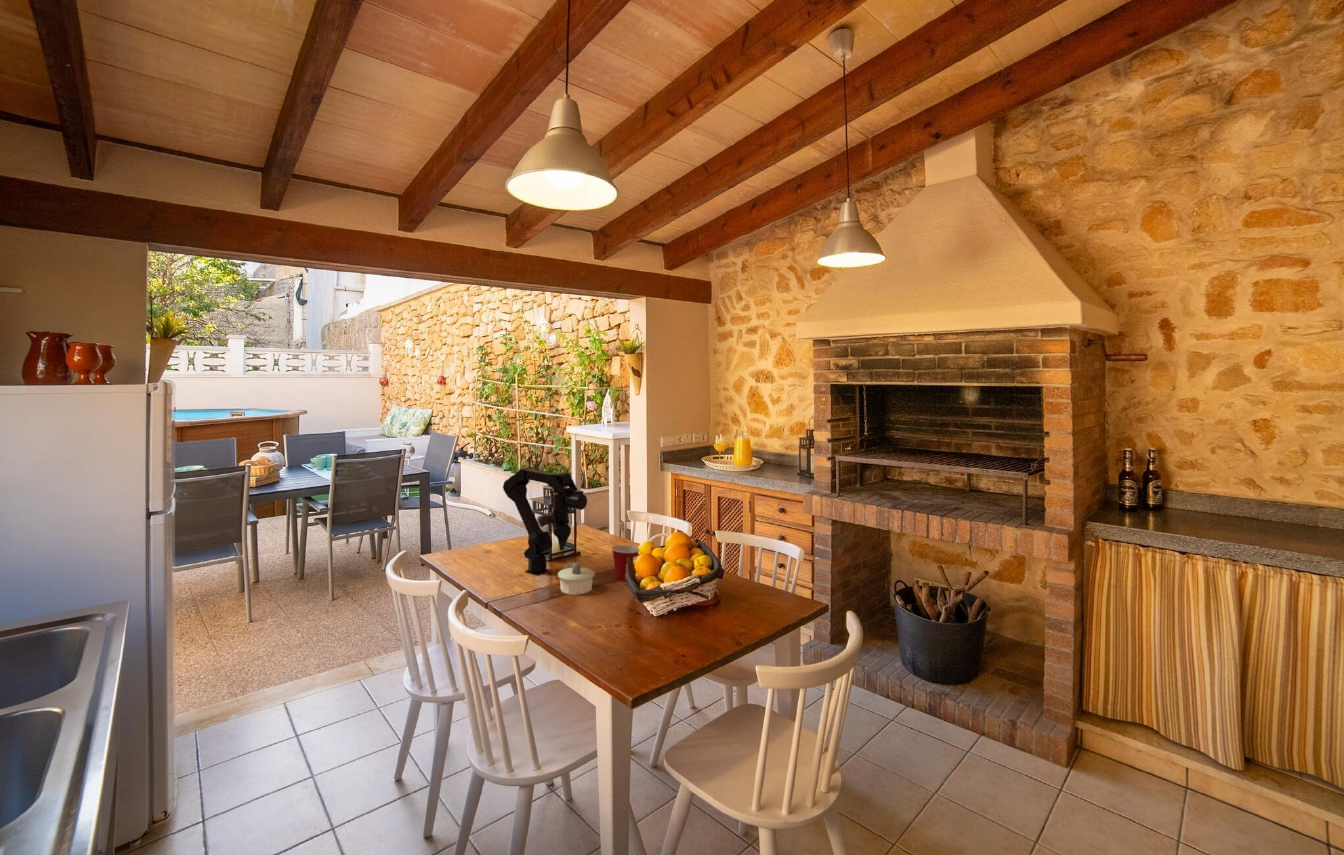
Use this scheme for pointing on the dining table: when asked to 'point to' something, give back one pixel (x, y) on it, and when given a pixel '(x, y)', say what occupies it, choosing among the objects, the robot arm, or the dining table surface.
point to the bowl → (576, 587)
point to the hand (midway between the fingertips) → (560, 546)
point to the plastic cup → (622, 558)
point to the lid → (576, 573)
